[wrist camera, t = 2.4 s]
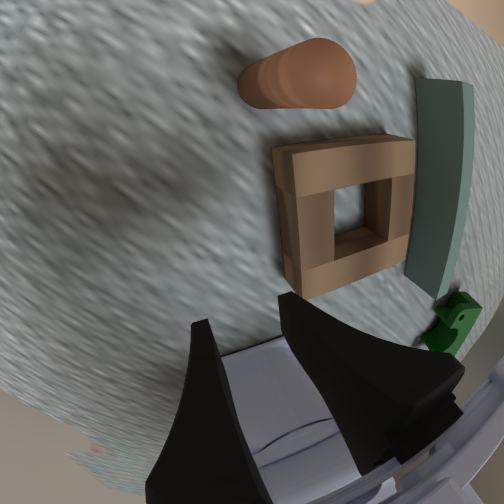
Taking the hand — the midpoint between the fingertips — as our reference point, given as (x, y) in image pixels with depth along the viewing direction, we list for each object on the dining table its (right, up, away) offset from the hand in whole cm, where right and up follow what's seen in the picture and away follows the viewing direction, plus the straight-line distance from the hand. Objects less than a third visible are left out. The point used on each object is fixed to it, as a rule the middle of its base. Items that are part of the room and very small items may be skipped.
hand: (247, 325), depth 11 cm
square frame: (+7, +6, +9) cm, 13 cm away
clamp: (+29, -8, +25) cm, 39 cm away
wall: (+16, +9, +11) cm, 22 cm away
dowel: (+1, +13, +4) cm, 13 cm away
